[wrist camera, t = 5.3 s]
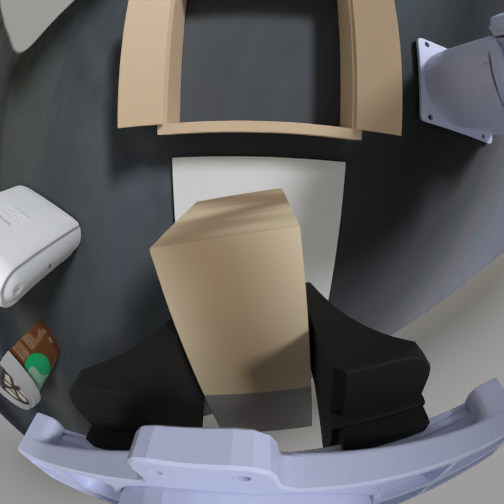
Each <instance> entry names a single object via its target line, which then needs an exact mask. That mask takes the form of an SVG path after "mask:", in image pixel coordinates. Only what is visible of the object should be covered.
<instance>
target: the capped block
mask: <svg viewBox="0 0 504 504" xmlns="http://www.w3.org/2000/svg"><path fill="white" fill-rule="evenodd" d="M150 252H151V255H152V259H153V262H154V265H155V268H156V272H157V275H158V278H159V281H160V284H161V287H162V290H163V293H164V296H165V299H166V302H167V304H168V307H169V310H170V313H171V316H172V318H173V321H174V324H175V326H176V329H177V332H178V334H179V337H180V339H181V342H182V344H183V347H184V349H185V352H186V354H187V357H188V359H189V362H190V364H191V366H192V369H193V371H194V373H195V376H196V378H197V380H198V382H199V385H200V387H201V389H202V391H203V393H204V396H205V398H206V400H207V402H208V404H209V406H210V408H211V410H212V413H213V415H214V417H215V419H216V420H217V423H218V425H219V427H220V428H231V427H235V428H247V429H255V430H257V431H273V430H283V429H292V428H301V427H307V426H312V400H311V367H310V345H309V327H308V312H307V298H306V285H305V273H304V262H303V252H302V242H301V233H300V226H299V223H298V221H297V219H296V217H295V215H294V213H293V210H292V208H291V206H290V204H289V202H288V200H287V198H286V196H285V194H284V192H283V189H282V188H278V189H271V190H264V191H257V192H251V193H244V194H238V195H232V196H226V197H220V198H214V199H209V200H203V201H197V202H196V203H195V204H194V205H193V206H191V207H190V208H189V209H188V210H187V211H186V212H185V213H184V214H183V215H182V216H181V217H180V218H179V219H178V220H177V221H176V222H175V223H174V224H173V225H172V226H171V227H170V228H169V229H168V230H167V231H166V232H165V233H164V234H163V235H162V236H161V237H160V238H159V240H158V241H157V242H156V243H155V244H154V245H153V246H152V247H151V248H150Z"/></svg>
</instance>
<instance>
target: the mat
mask: <svg viewBox="0 0 504 504" xmlns="http://www.w3.org/2000/svg"><path fill="white" fill-rule="evenodd" d="M172 165H173V192H174V210H175V222H176V221H177V220H178V219H179V218H180V217H181V216H182V215H183V214H184V213H185V212H186V211H187V210H188V209H189V208H190V207H191V206H193V205H194V204H195V203H196V202H197V201H203V200H209V199H214V198H220V197H226V196H232V195H238V194H244V193H251V192H257V191H264V190H271V189H278V188H282V189H283V192H284V194H285V196H286V198H287V200H288V202H289V204H290V206H291V208H292V210H293V213H294V215H295V217H296V219H297V221H298V223H299V226H300V233H301V242H302V252H303V262H304V273H305V283H306V282H310V283H311V284H312V285H313V286H314V287H315V288H316V289H317V290H318V291H319V292H320V293H321V294H322V295H323V296H324V297H325V298H326V299H327V300H328V299H329V293H330V288H331V282H332V276H333V270H334V263H335V256H336V250H337V242H338V235H339V227H340V218H341V210H342V200H343V190H344V178H345V165H346V163H345V162H338V161H327V160H315V159H301V158H283V157H256V156H204V157H176V158H172Z"/></svg>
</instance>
